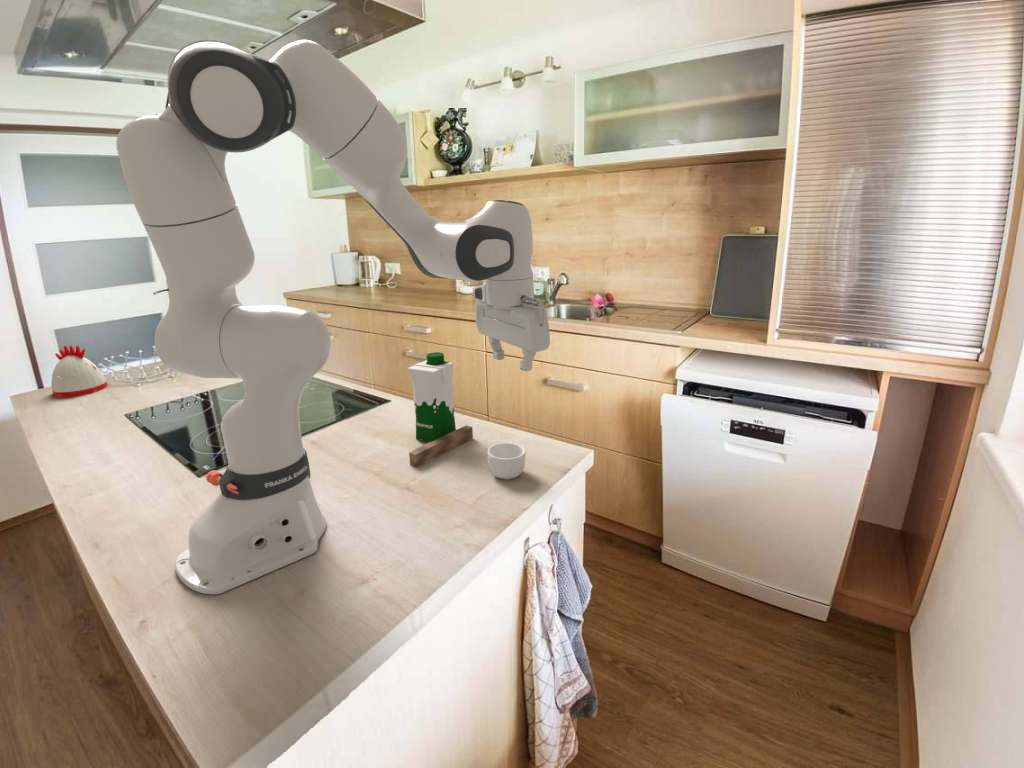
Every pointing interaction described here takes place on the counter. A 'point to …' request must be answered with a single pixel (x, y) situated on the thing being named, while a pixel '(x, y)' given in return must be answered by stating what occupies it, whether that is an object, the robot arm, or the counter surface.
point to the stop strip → (440, 446)
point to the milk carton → (433, 397)
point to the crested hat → (75, 374)
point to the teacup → (506, 460)
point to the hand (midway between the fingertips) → (512, 364)
